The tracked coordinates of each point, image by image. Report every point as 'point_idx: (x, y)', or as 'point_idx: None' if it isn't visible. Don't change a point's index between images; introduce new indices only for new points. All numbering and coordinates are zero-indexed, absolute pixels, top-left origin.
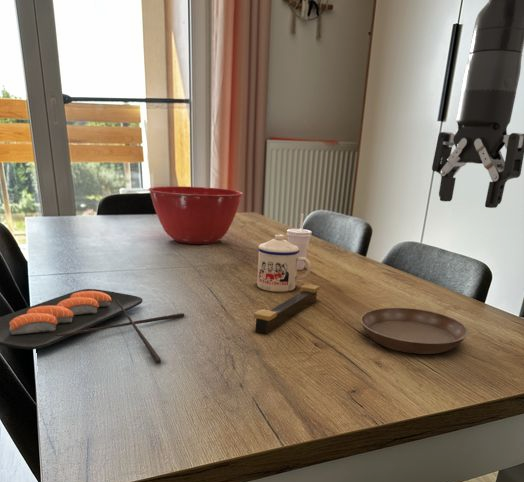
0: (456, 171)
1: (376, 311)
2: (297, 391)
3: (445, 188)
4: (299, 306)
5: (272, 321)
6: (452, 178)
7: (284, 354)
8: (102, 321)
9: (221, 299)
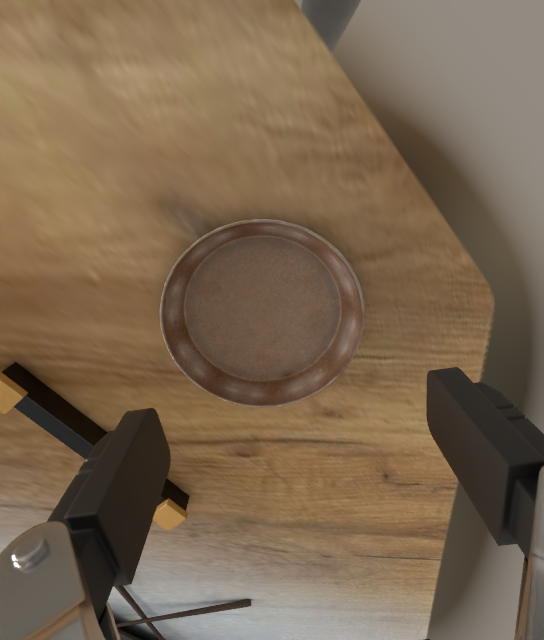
0: (81, 570)
1: (168, 339)
2: (360, 520)
3: (152, 513)
4: (85, 427)
5: (170, 496)
6: (111, 534)
7: (263, 499)
8: (138, 638)
9: (11, 501)
